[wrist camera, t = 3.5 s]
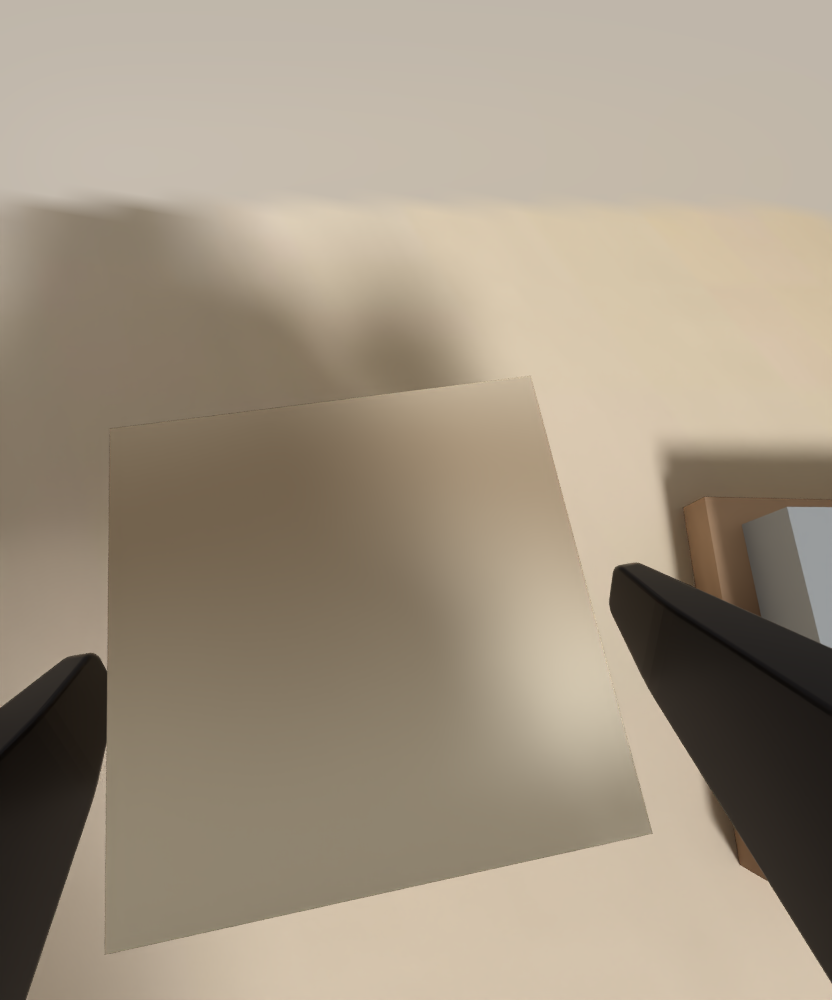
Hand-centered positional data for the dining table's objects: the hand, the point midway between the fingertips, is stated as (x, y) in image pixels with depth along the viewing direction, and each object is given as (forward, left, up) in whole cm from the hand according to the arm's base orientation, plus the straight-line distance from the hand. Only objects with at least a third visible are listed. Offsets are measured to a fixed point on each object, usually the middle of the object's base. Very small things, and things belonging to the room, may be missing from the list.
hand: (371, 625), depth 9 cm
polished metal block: (0, 0, -8) cm, 8 cm away
